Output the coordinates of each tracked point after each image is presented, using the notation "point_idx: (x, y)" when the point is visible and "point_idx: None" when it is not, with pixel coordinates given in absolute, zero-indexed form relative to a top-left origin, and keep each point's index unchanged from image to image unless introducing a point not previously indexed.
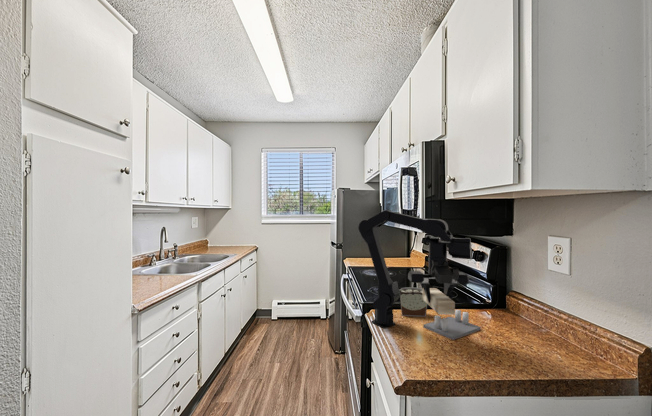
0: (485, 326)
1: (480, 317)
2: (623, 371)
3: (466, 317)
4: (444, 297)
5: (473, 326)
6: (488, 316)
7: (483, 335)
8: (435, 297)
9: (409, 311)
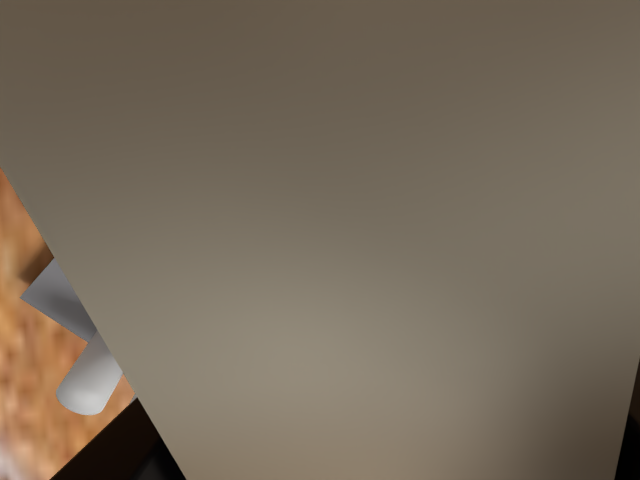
0: (6, 337)
1: (43, 444)
2: None
3: (88, 359)
4: (223, 283)
5: (66, 298)
6: (3, 458)
7: (5, 195)
8: (592, 220)
9: None
